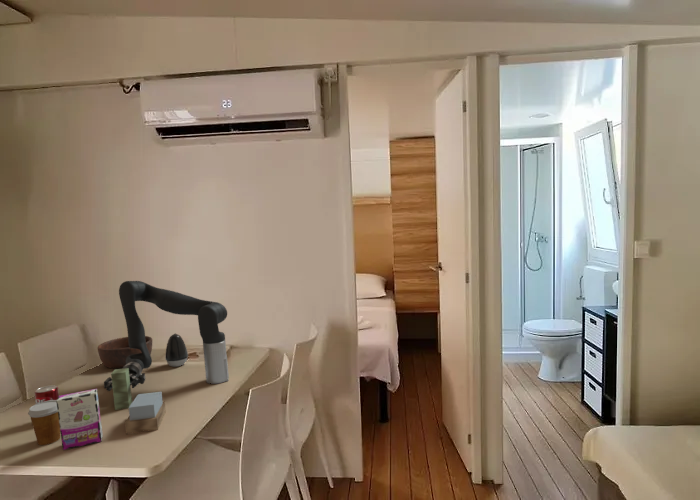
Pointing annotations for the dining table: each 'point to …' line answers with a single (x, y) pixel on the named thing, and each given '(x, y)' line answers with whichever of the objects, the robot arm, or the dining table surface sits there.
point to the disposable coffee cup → (45, 422)
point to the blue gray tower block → (145, 406)
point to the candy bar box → (79, 419)
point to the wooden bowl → (119, 351)
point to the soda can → (46, 394)
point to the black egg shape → (176, 351)
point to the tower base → (145, 422)
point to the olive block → (121, 388)
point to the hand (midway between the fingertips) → (120, 387)
